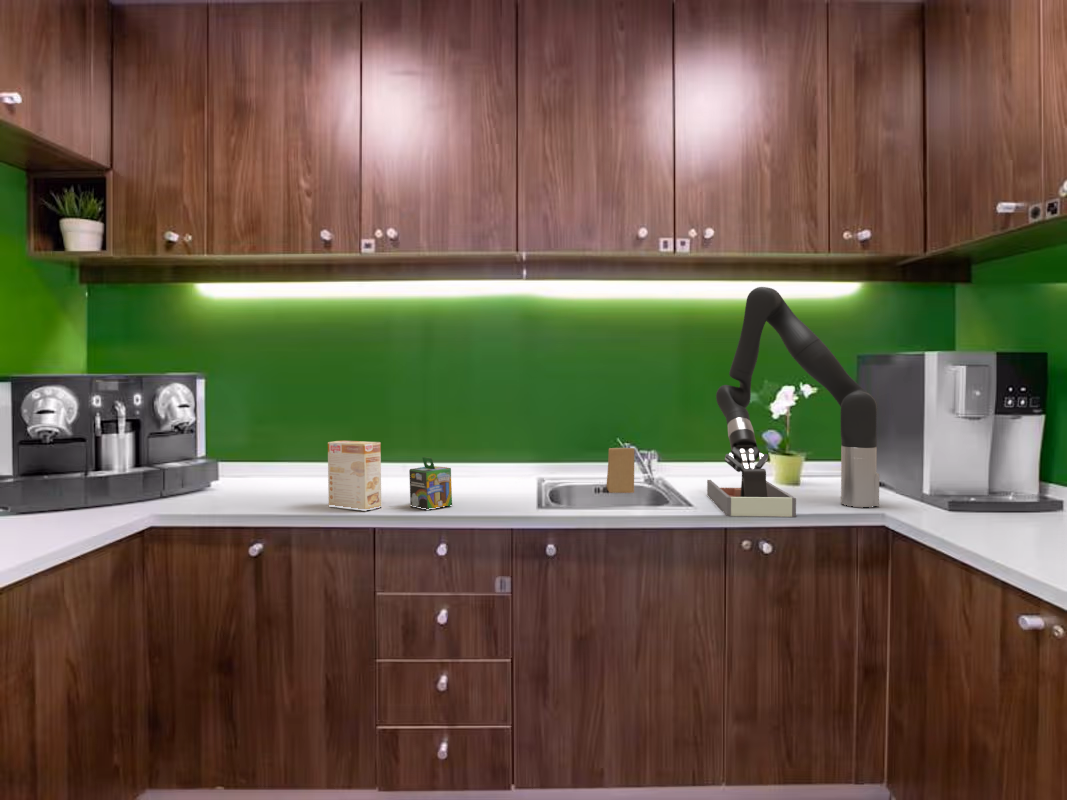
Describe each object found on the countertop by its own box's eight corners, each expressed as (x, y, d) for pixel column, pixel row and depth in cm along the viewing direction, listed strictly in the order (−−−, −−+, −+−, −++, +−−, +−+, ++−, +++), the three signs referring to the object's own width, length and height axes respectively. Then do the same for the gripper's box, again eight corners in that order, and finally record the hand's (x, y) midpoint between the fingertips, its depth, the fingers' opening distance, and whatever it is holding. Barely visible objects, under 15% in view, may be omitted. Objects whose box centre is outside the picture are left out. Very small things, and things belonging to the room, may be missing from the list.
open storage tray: (765, 495, 205) (765, 480, 205) (795, 516, 173) (796, 498, 173) (707, 495, 207) (707, 479, 207) (727, 515, 175) (727, 497, 175)
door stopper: (768, 514, 176) (768, 471, 176) (746, 514, 177) (746, 470, 176) (760, 508, 185) (761, 466, 185) (739, 508, 186) (739, 466, 185)
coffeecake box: (382, 508, 189) (381, 441, 188) (364, 512, 182) (363, 443, 182) (345, 503, 196) (345, 439, 196) (327, 507, 190) (326, 441, 190)
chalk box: (452, 506, 190) (452, 456, 190) (427, 511, 184) (426, 459, 183) (434, 502, 197) (433, 454, 196) (408, 507, 190) (408, 457, 190)
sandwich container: (630, 485, 228) (630, 443, 228) (634, 493, 213) (634, 447, 212) (605, 485, 228) (605, 443, 228) (608, 493, 213) (608, 448, 213)
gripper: (721, 428, 195) (729, 473, 183) (766, 427, 194) (777, 474, 182) (717, 443, 201) (726, 489, 189) (761, 443, 200) (772, 489, 188)
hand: (751, 481), depth 186 cm, fingers closed
